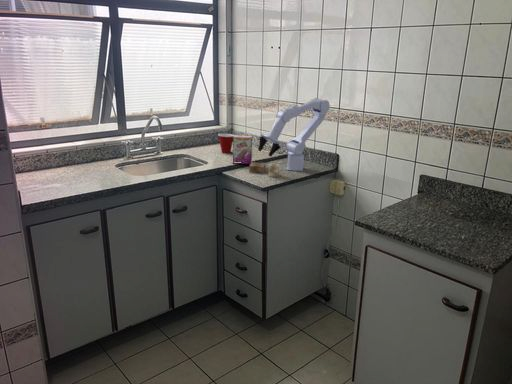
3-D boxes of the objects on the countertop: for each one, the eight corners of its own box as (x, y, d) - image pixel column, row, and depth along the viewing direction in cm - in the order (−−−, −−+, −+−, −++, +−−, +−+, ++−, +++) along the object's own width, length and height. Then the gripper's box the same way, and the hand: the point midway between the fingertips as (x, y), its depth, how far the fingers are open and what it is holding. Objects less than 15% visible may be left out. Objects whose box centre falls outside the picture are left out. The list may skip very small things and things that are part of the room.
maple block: (278, 174, 230) (278, 164, 228) (277, 177, 225) (278, 166, 223) (269, 173, 231) (269, 163, 229) (268, 176, 226) (268, 166, 224)
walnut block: (265, 169, 239) (265, 163, 238) (263, 173, 232) (263, 166, 230) (251, 168, 240) (251, 162, 239) (249, 172, 233) (249, 165, 232)
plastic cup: (237, 151, 274) (237, 133, 270) (228, 155, 266) (228, 136, 262) (224, 149, 280) (224, 131, 276) (214, 152, 271) (214, 134, 267)
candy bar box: (232, 163, 248) (232, 136, 242) (233, 161, 252) (234, 135, 247) (251, 164, 247) (251, 137, 241) (252, 162, 251) (252, 135, 246)
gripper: (262, 124, 227) (251, 146, 228) (283, 133, 219) (271, 156, 220) (268, 128, 233) (257, 150, 234) (288, 137, 225) (277, 159, 226)
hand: (264, 153), depth 227 cm, fingers open, 7 cm apart
